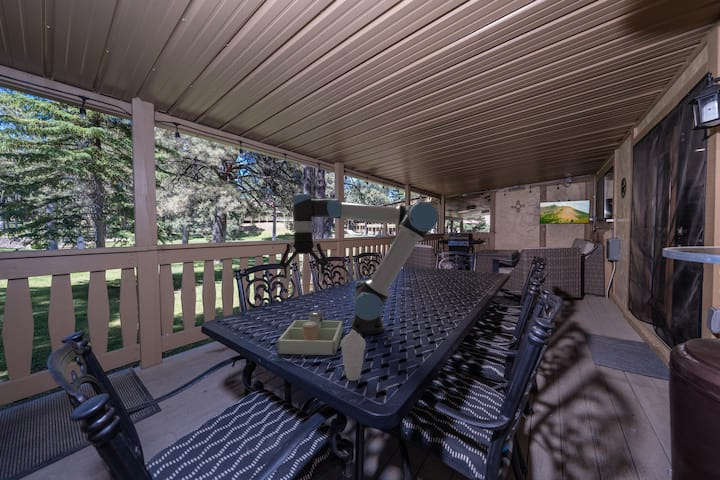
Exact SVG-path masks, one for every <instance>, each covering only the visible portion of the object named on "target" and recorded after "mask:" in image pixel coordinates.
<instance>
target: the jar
mask: <svg viewBox="0 0 720 480" xmlns="http://www.w3.org/2000/svg"><path fill="white" fill-rule="evenodd" d="M302 331H303V340H318V325H317V323H316V322H306V323H304V324H303V326H302Z"/></svg>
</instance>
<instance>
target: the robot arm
mask: <svg viewBox="0 0 720 480" xmlns="http://www.w3.org/2000/svg"><path fill="white" fill-rule="evenodd" d="M292 209H293V231H294V235H293V239H294V240H293V241H294V242H293V243H290V242H289V243H287V244H286V248H285V251H284V254H283V255H282V257H281V260H280V262H279V266H280V267H283V272H284V275H286V283H287V284H289V283H291V266H289V265H290V264H291V263H292V261H294V259H295V258H296V257H297V255H298V254H299V255H308V254H309V255H310V256H312V258H313V259H314V260H315V261H316V262H317V264H319V267H318V269H319V270H318V274H319V275H318V276H319V278H318V279H319V283H322V282H323V275H324V274H325V266H328V265H329V261H328V259H327V256H326V255H325V253H324V251H323V249H322V247H321V242H317V243H314V238H313V232H312V231H313V218H327V219H340V220H351V221H360V222H361V221H363V222H372V223H373V222H374V223H381V224H382V223H383V224H394V225H395V226H396V227H399V232H398V233H397V235H396V237H395V238H394V239H393V242H392V243H391V245H390V247H389V248H388V250H387V252H386V253H385V255H384V256H383V258H382V260H381V261H380V263H379V265H378V266H377V268H376V269H375V271H374V273H373V274H372V275H371V278H369V279H366V280H356V282H355V283H354V301H353V309H354V314H353V315H354V316H353V319H352V320H351V321H352V322H351V330H355V331H356V332H357V333H361V335H364V336H365V335H366V336H371V335H377V334H380V333H381V332H383V331H384V322H383V320H382V316H381V315H382V312H383V310H384V305H385V303H386V301H387V300H388V298H389V296H390V294H389V289H390V287H391V286H392V284H394V281H395V280H396V278H397V276H398V275H399V273H400V272H401V270H402V268H403V266H404V265H405V263H406V262H407V260H408V259H409V257H410V255H411V253H412V252H413V250H414V249H415V247H416V245H417V244H418V242H420V241H423V240H425V237H427V235H428V233H429V231H431V230H432V229H434V227H436V225H437V223H438V221H439V215H438V210H437V208H436V207H435V206H434V205H433V204H432V203H429V202H428V201H418V202H415V203H414V204H410V205H399V204H398V205H397V206H387V205H386V206H385V205H384V206H383V205H375V204H362V203H349V202H341V200H340V199H338V198H316V199H315V198H312V195H311V194H309V193H297V194H294V196H293V202H292ZM314 247H315V249H317V252H318V254H319V255H320V257H321V258H320V257H319V256H318V255H317V254H316V253H315V250H313V249H314ZM293 248H294V249H295V250H294V252H293V253H292V255H290V257H289V258H288V256H289V254H290V252H291V250H292V249H293ZM287 258H288V259H287Z"/></svg>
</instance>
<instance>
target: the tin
mask: <svg viewBox="0 0 720 480" xmlns="http://www.w3.org/2000/svg"><path fill="white" fill-rule="evenodd" d="M308 320H309V322H316V323H317V325H318V328H323V321H324V312H323V311H322V310H321V311H320V310H312V311H309V313H308Z"/></svg>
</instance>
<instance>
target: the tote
mask: <svg viewBox="0 0 720 480" xmlns="http://www.w3.org/2000/svg"><path fill="white" fill-rule="evenodd" d="M306 322H309V319H308V320H307V319H305V320H304V319H295V320H293V322H292V323H291V324H290V325H289V326H288V328H287V329H286V330H285V331H284V332H283V333H282V334H281V336H280V337H279V338H278V339H277V340H276V347H277V348H276V349H277V352H276V353H277V354H278V355H281V354H282V355H283V354H285V355H311V356H312V355H313V356H314V355H315V356H316V355H317V356H319V355H320V356H322V355H323V356H335V355H336V354H337V350H338V347H339V346H340V343H341V340H342V339H341V338H342V335H343V331H344V329H343V325H344V324H343V320H323V328H318V340H303V331H302V326H303V324H304V323H306Z"/></svg>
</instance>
